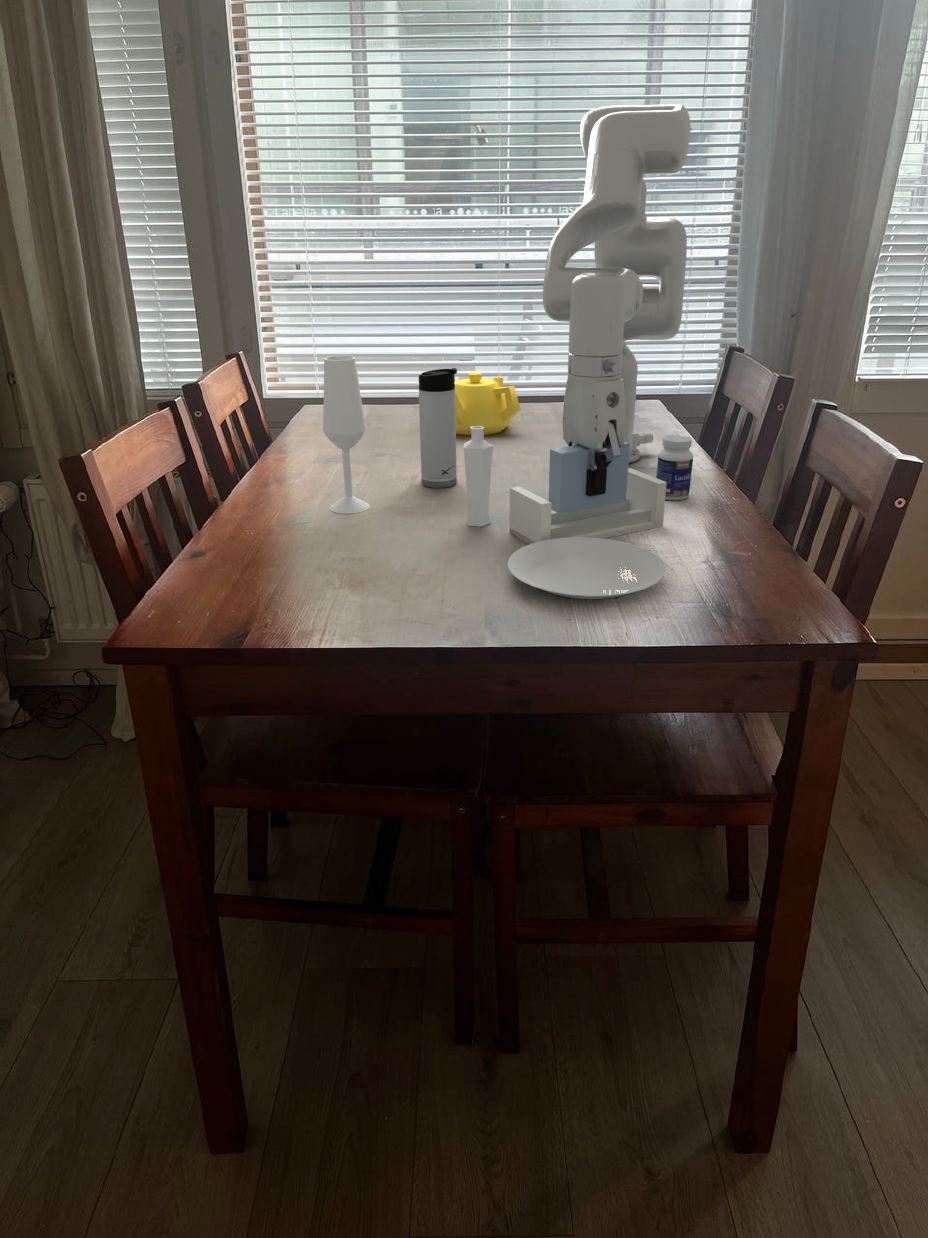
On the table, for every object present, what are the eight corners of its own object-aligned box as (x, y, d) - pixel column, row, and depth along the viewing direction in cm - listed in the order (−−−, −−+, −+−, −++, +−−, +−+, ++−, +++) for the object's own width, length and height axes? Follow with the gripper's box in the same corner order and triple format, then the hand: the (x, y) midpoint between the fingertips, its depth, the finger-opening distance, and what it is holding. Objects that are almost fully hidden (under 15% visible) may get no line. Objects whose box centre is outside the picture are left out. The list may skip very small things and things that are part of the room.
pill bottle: (677, 503, 150) (683, 444, 146) (648, 496, 154) (652, 438, 150) (695, 495, 154) (701, 437, 150) (666, 489, 158) (671, 432, 153)
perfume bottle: (496, 519, 144) (496, 424, 138) (487, 528, 140) (487, 431, 134) (468, 516, 145) (467, 422, 139) (459, 525, 142) (458, 429, 135)
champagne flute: (321, 510, 149) (309, 360, 139) (341, 499, 154) (331, 353, 144) (358, 515, 146) (348, 362, 136) (376, 503, 152) (369, 355, 142)
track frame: (627, 510, 147) (630, 467, 144) (662, 526, 140) (666, 482, 137) (509, 532, 138) (510, 487, 135) (540, 550, 131) (541, 504, 128)
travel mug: (454, 489, 159) (452, 372, 150) (417, 487, 160) (413, 371, 152) (461, 479, 164) (460, 365, 156) (426, 477, 166) (422, 364, 157)
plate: (554, 624, 110) (555, 607, 109) (482, 565, 127) (482, 550, 126) (697, 595, 117) (698, 578, 116) (610, 543, 134) (611, 528, 133)
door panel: (614, 496, 141) (617, 439, 137) (625, 501, 139) (629, 443, 135) (548, 508, 136) (550, 448, 132) (559, 513, 134) (561, 453, 130)
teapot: (522, 435, 194) (523, 377, 189) (445, 440, 191) (444, 381, 186) (501, 418, 209) (502, 364, 204) (430, 422, 206) (429, 368, 201)
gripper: (651, 372, 124) (642, 502, 132) (584, 356, 137) (579, 475, 145) (606, 377, 121) (599, 510, 128) (541, 360, 134) (538, 481, 142)
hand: (588, 490), depth 137 cm, fingers closed on door panel, 3 cm apart
